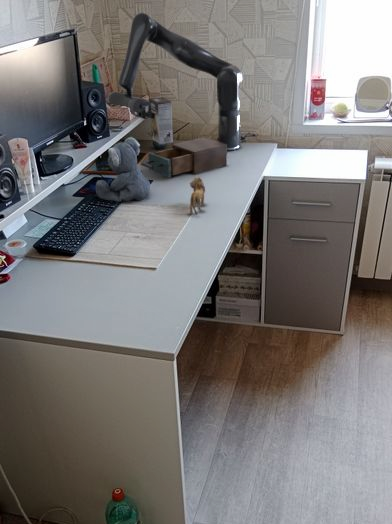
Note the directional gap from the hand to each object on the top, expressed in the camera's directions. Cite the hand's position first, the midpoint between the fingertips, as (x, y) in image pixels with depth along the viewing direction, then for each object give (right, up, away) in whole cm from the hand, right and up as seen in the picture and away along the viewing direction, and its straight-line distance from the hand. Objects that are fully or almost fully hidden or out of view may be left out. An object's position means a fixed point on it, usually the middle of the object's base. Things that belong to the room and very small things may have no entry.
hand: (162, 114), depth 229 cm
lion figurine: (+14, -47, -36) cm, 61 cm away
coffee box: (0, -9, +6) cm, 11 cm away
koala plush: (-11, -40, -24) cm, 48 cm away
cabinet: (+15, -20, +4) cm, 25 cm away
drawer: (+3, -24, -4) cm, 25 cm away
